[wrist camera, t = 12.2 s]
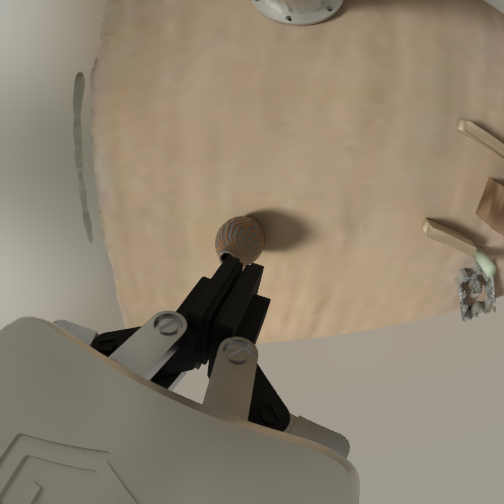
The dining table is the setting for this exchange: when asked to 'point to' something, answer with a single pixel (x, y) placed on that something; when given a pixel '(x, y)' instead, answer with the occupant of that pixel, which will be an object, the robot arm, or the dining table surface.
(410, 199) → the dining table surface
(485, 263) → the goal posts
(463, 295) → the grey jagged open ring
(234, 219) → the vase
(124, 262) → the dining table surface
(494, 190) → the walnut block
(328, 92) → the dining table surface
